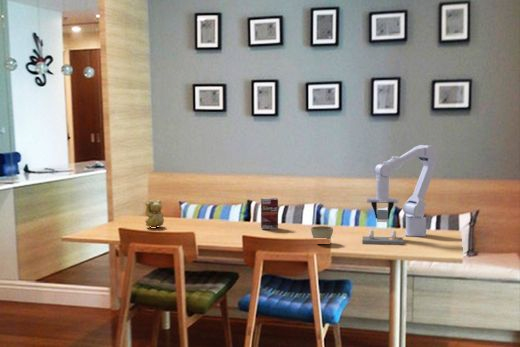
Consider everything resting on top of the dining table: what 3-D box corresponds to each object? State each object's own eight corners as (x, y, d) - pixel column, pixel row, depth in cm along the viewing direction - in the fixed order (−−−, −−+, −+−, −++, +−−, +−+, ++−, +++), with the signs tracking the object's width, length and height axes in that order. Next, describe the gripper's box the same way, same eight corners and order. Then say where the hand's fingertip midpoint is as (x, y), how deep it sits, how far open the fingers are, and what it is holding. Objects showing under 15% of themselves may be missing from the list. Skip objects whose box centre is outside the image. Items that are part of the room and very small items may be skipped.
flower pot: (309, 241, 258) (309, 226, 257) (330, 241, 259) (330, 225, 258) (313, 246, 248) (313, 230, 247) (335, 245, 249) (335, 229, 248)
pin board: (402, 240, 258) (402, 228, 257) (403, 244, 249) (403, 232, 248) (362, 239, 261) (362, 227, 261) (362, 243, 252) (362, 231, 252)
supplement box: (262, 230, 288) (261, 199, 286) (260, 228, 292) (260, 198, 291) (278, 229, 289) (278, 199, 287) (277, 227, 293) (276, 197, 292)
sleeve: (387, 220, 266) (387, 209, 265) (387, 222, 261) (388, 211, 261) (376, 220, 267) (376, 209, 266) (377, 221, 262) (377, 211, 262)
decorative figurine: (161, 225, 303) (160, 198, 302) (166, 228, 296) (166, 200, 295) (144, 227, 299) (143, 199, 297) (149, 229, 292) (148, 201, 290)
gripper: (366, 190, 260) (366, 219, 261) (398, 190, 257) (398, 219, 259) (366, 188, 267) (366, 216, 268) (398, 189, 264) (397, 217, 265)
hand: (382, 218), depth 264 cm, fingers closed on sleeve, 5 cm apart
